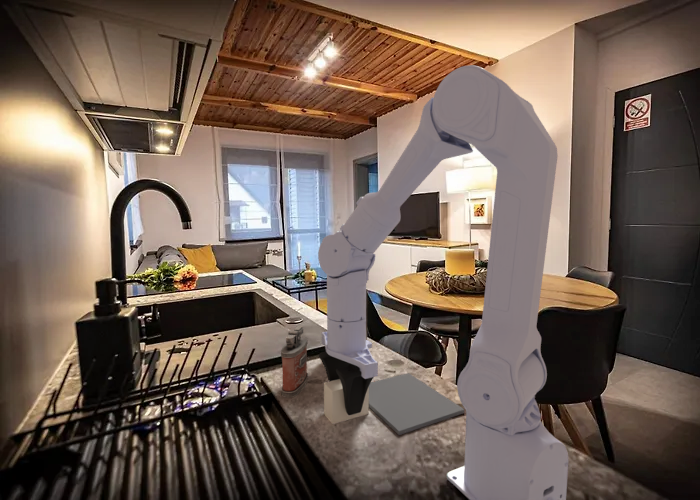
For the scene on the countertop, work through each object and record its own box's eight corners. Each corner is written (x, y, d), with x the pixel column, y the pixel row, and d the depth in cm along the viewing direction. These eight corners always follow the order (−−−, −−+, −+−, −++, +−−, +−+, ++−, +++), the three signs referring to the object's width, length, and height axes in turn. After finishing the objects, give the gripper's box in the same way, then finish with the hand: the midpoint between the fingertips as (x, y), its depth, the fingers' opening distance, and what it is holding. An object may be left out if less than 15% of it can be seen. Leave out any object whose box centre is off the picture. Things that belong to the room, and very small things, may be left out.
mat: (464, 413, 54) (464, 409, 54) (398, 435, 48) (399, 431, 48) (408, 376, 66) (408, 373, 66) (351, 390, 61) (351, 387, 61)
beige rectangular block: (368, 414, 54) (368, 382, 53) (332, 424, 51) (332, 391, 50) (359, 404, 56) (359, 374, 56) (324, 414, 54) (324, 382, 53)
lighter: (296, 398, 58) (295, 339, 57) (277, 396, 59) (276, 337, 58) (311, 376, 66) (311, 324, 65) (294, 374, 67) (293, 323, 66)
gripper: (397, 326, 48) (396, 422, 49) (348, 302, 60) (348, 379, 62) (350, 334, 44) (350, 436, 46) (309, 307, 57) (310, 388, 58)
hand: (346, 404), depth 53 cm, fingers open, 4 cm apart
